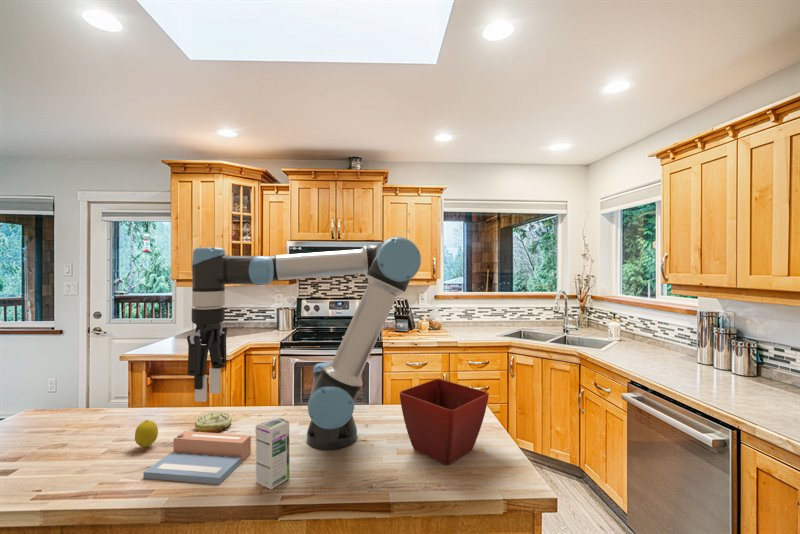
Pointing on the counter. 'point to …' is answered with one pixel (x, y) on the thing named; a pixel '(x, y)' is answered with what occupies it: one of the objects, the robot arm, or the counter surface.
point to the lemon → (146, 433)
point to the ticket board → (193, 467)
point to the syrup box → (272, 452)
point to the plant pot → (443, 418)
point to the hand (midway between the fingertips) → (208, 396)
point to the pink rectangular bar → (213, 444)
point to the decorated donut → (213, 422)
